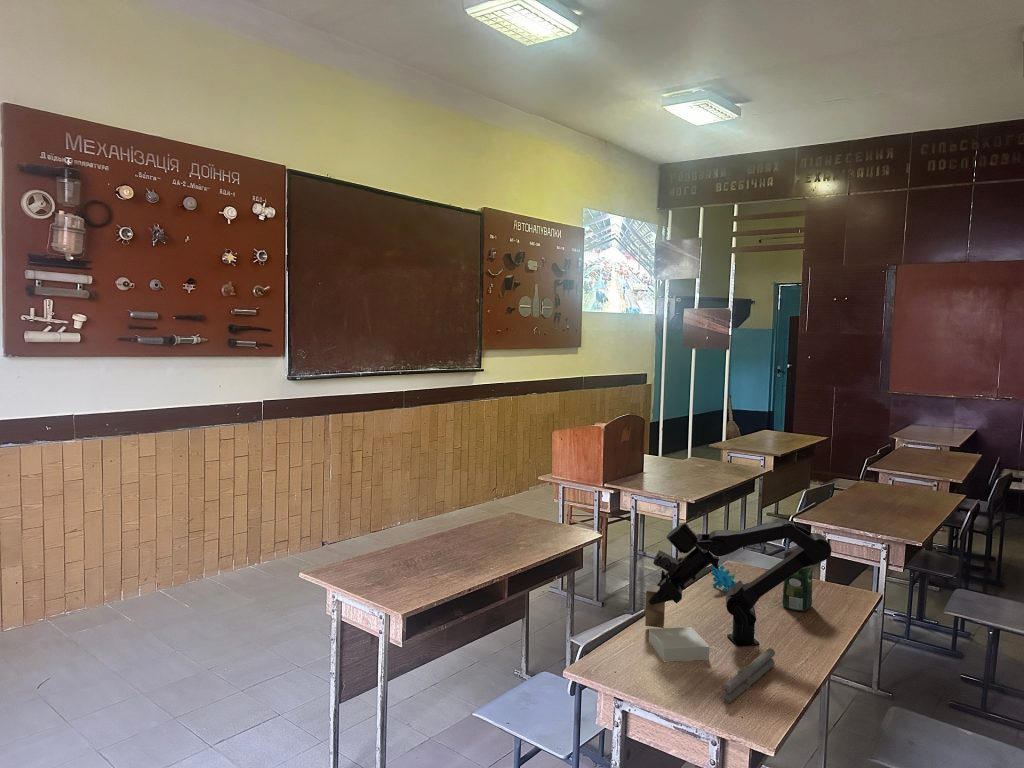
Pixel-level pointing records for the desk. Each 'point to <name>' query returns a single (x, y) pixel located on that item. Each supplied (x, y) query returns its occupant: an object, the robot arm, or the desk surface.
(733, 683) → the metal rod assembly
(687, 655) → the plate
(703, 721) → the desk surface
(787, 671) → the desk surface
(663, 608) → the walnut block
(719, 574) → the gear
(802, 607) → the coffee jar
